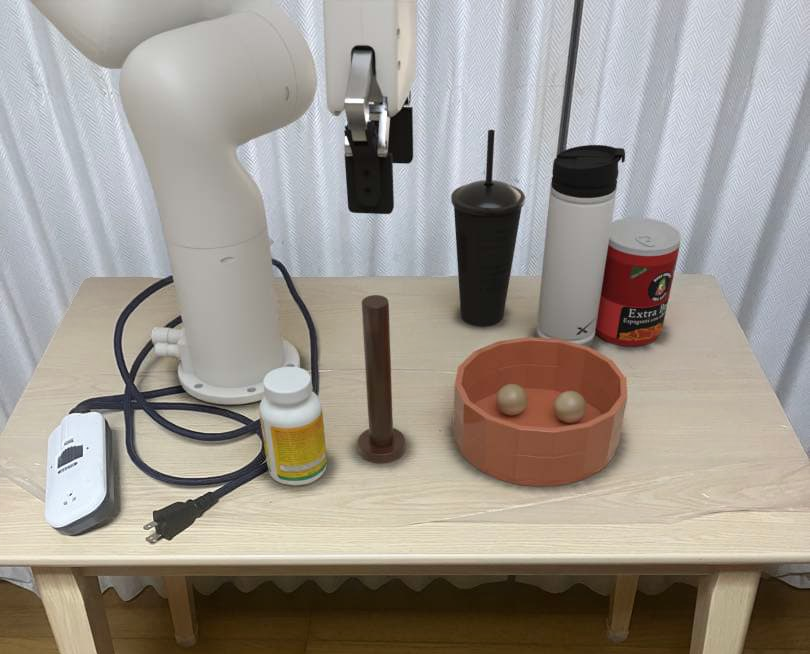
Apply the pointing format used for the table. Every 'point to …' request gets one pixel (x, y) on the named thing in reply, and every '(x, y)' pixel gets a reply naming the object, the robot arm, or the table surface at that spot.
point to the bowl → (538, 411)
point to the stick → (378, 385)
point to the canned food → (637, 280)
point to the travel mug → (577, 241)
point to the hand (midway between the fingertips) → (382, 185)
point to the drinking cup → (485, 243)
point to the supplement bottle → (292, 427)
